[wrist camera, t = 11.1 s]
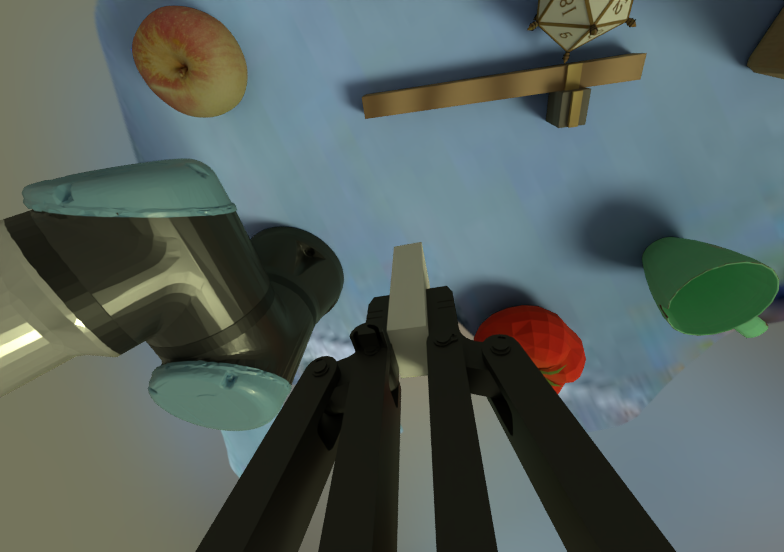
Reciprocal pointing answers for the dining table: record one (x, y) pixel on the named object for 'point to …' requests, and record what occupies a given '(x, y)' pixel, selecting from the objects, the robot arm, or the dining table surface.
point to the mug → (708, 287)
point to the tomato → (540, 341)
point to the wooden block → (770, 51)
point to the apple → (190, 61)
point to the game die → (580, 20)
